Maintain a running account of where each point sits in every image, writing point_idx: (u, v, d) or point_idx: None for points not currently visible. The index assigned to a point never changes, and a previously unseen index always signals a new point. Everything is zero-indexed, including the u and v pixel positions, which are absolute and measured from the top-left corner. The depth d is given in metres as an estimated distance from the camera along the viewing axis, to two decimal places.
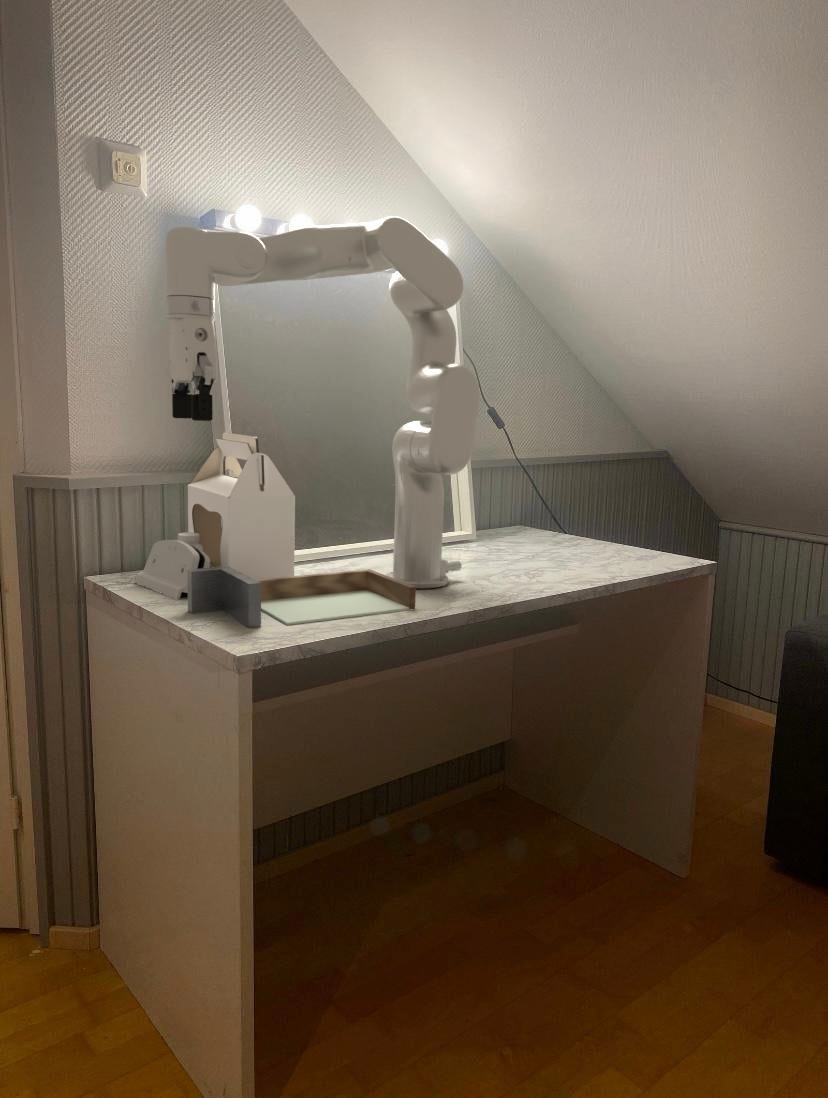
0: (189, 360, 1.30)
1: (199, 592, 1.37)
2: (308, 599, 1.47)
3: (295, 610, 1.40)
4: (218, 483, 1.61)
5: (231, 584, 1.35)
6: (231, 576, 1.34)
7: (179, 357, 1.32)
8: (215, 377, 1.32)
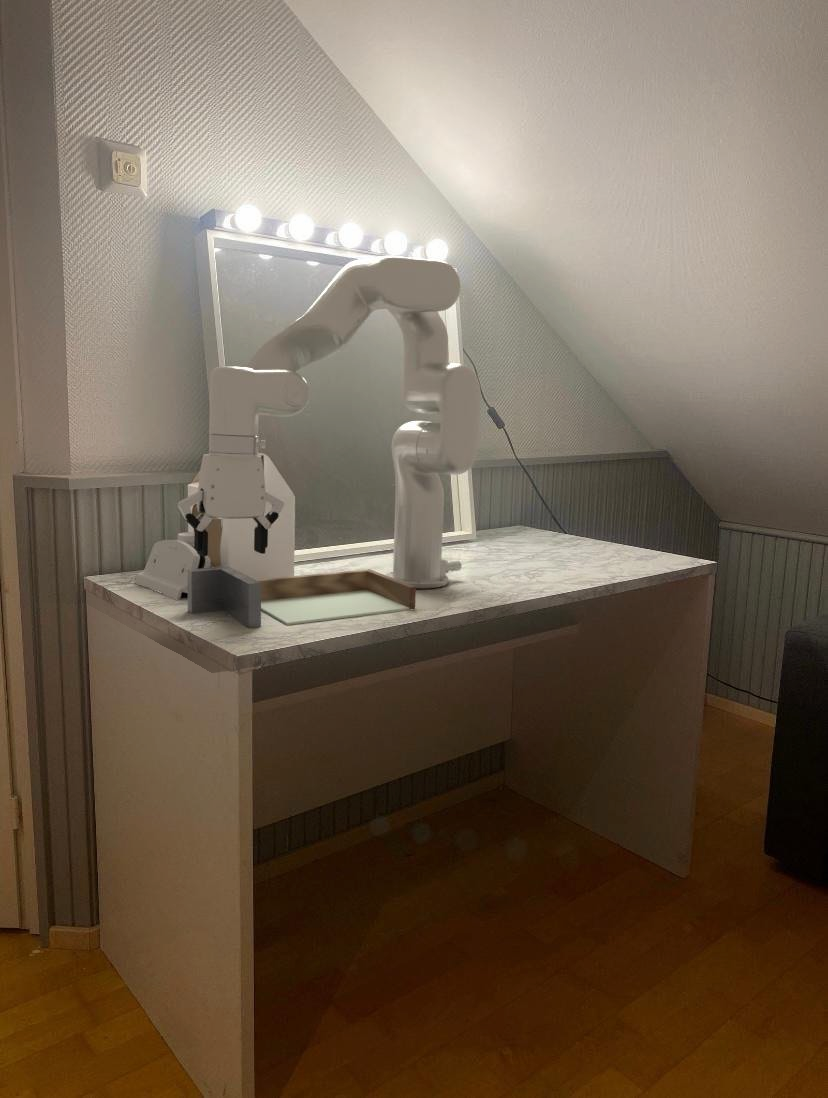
0: (265, 497, 1.34)
1: (199, 592, 1.37)
2: (308, 599, 1.47)
3: (295, 610, 1.40)
4: None
5: (231, 584, 1.35)
6: (231, 576, 1.34)
7: (247, 495, 1.32)
8: None
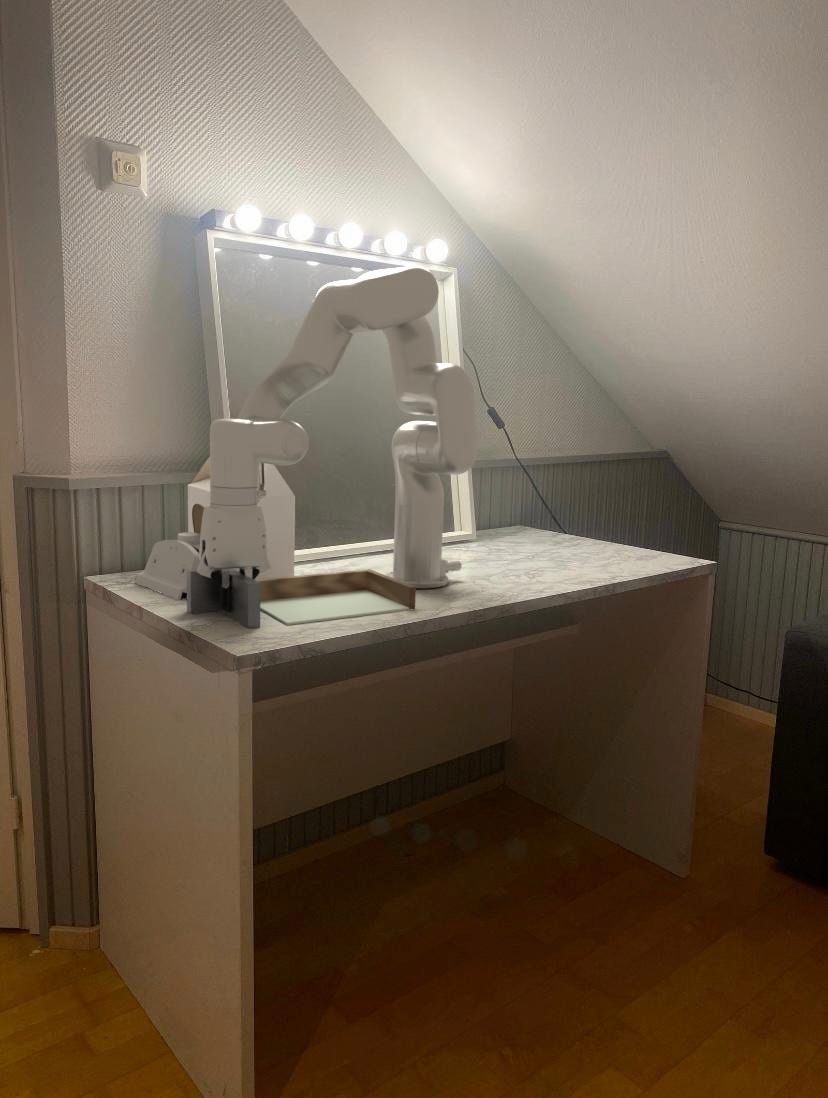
0: (266, 546, 1.36)
1: (198, 592, 1.37)
2: (308, 599, 1.47)
3: (295, 610, 1.40)
4: None
5: (230, 584, 1.35)
6: (230, 576, 1.34)
7: (248, 545, 1.34)
8: None
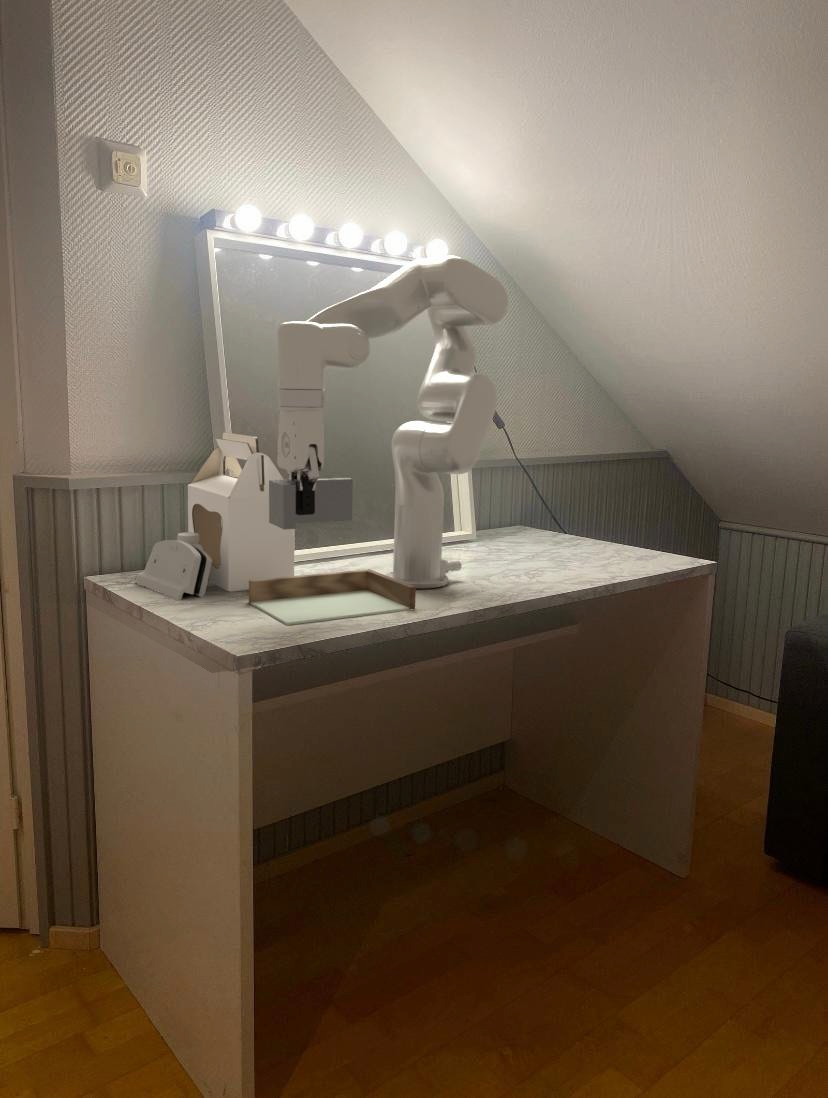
0: None
1: None
2: (308, 599, 1.47)
3: (295, 610, 1.40)
4: (218, 483, 1.61)
5: None
6: None
7: None
8: None
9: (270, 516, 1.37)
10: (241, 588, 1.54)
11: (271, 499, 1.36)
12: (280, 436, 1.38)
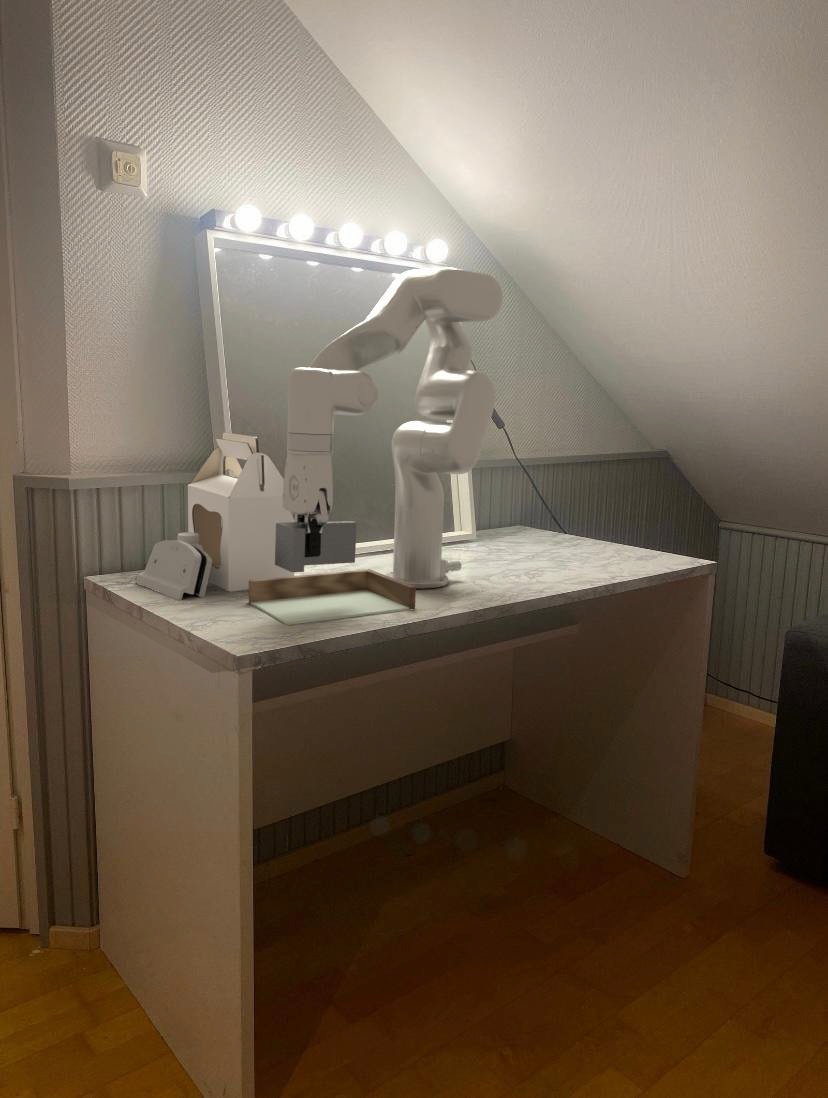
0: None
1: None
2: (308, 599, 1.47)
3: (295, 610, 1.40)
4: (218, 483, 1.62)
5: None
6: None
7: None
8: None
9: (276, 558, 1.38)
10: (241, 588, 1.54)
11: (278, 541, 1.37)
12: (287, 479, 1.39)
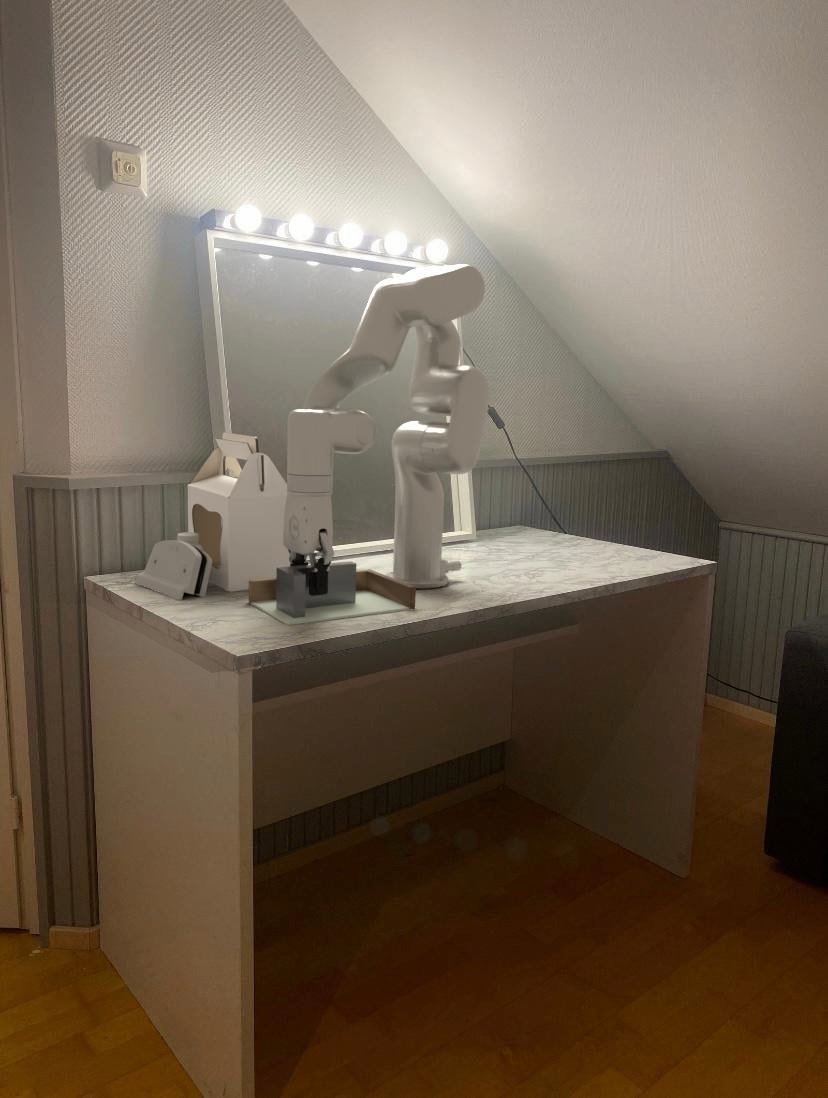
0: None
1: None
2: None
3: None
4: (218, 483, 1.61)
5: None
6: None
7: None
8: None
9: (277, 602, 1.40)
10: (241, 588, 1.54)
11: (279, 586, 1.39)
12: (287, 518, 1.41)
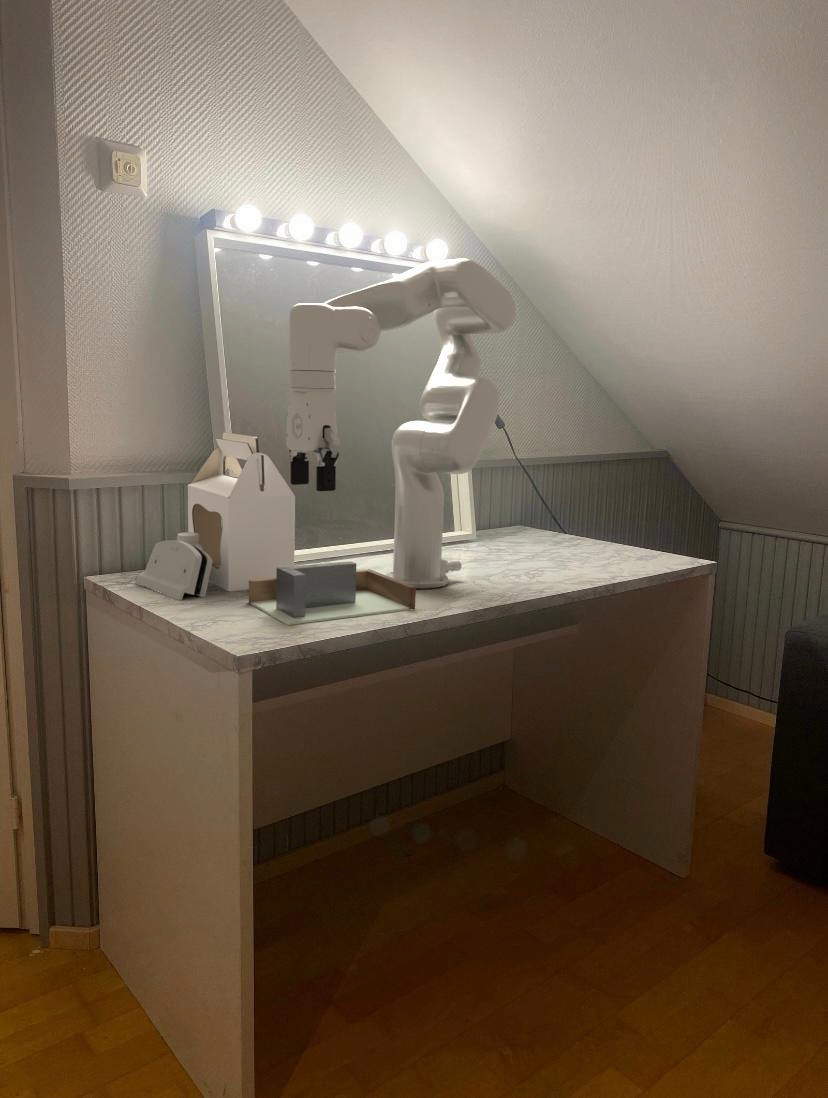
0: None
1: None
2: None
3: None
4: (218, 483, 1.61)
5: (317, 576, 1.41)
6: (318, 568, 1.41)
7: None
8: None
9: (277, 602, 1.40)
10: (241, 588, 1.54)
11: (279, 586, 1.39)
12: (290, 418, 1.38)
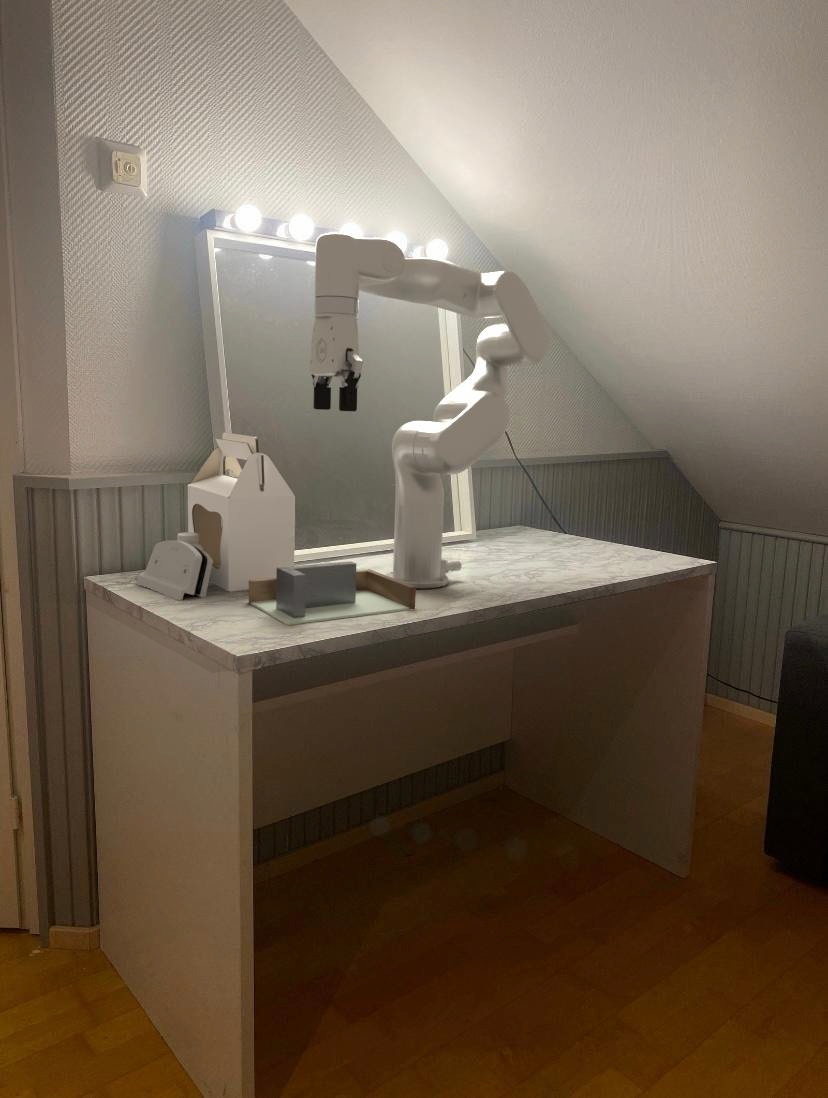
0: None
1: None
2: None
3: None
4: (218, 483, 1.61)
5: (317, 576, 1.41)
6: (318, 568, 1.41)
7: None
8: None
9: (277, 602, 1.40)
10: (241, 588, 1.54)
11: (279, 586, 1.39)
12: (315, 344, 1.47)
